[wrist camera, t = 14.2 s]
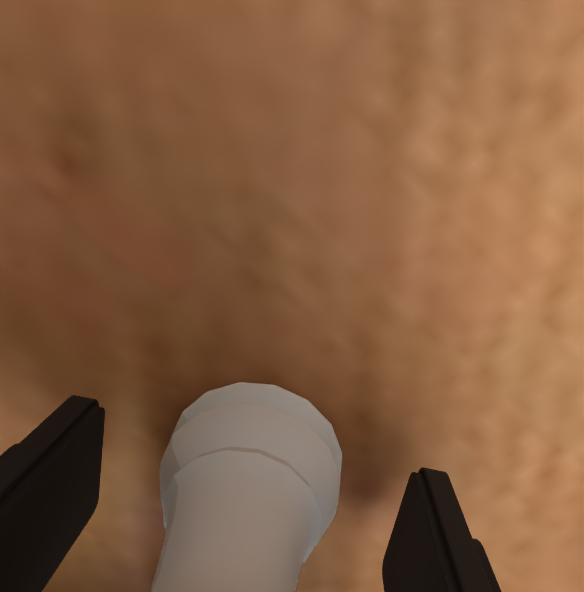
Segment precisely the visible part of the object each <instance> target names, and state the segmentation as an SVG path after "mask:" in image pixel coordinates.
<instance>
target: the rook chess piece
mask: <svg viewBox="0 0 584 592" xmlns="http://www.w3.org/2000/svg"><path fill="white" fill-rule="evenodd" d="M341 465H342V451H341V448H340V446H339V443H338V440H337V438H336V435H335V432H334V430H333V427H332V424H331V423H330V422H329V421H328V420H327V419H326V418H325V417H324V416H323V415H322V414H321V413H320V412H319V411H318V410H317V409H316V408H315V407H314V406H313V405H312V404H311V403H310V402H309V401H308V400H307V399H305V398H302V397H300V396H298V395H296V394H294V393H292V392H289V391H287V390H285V389H283V388H281V387H279V386H277V385H270V384H257V383H245V382H238V383H235V384H231V385H228V386H224V387H221V388H218V389H214V390H211V391H207V392H206V393H205V394H203V395H202V396H201V397H200V398H198V399H197V400H196V401H195V402H194V403H192V404H191V405H190V406H189V407H188V408H186V409H185V410H184V411H183V412H182V414H181V416H180V418H179V420H178V423H177V425H176V427H175V429H174V431H173V434H172V436H171V438H170V442H169V444H168V446H167V449H166V451H165V453H164V455H163V457H162V460H161V464H160V473H159V474H160V499H161V504H162V506H163V525H164V527H165V529H166V533H165V537H164V541H163V545H162V549H161V553H160V557H159V560H158V564H157V568H156V572H155V576H154V580H153V584H152V588H151V592H296V588H297V584H298V580H299V575H300V571H301V567H302V564H303V563H305V562H306V560H307V559H308V557H309V556H310V554H311V552H312V551H313V549H314V548H315V546H316V545H317V544H318V543H319V541H320V539H321V538H322V536H323V535H324V533H325V532H326V530H327V528H328V527H329V525H330V524H331V522H332V521H333V519H334V516H335V514H336V511H337V508H338V500H339V490H340V480H341V477H340V475H341Z"/></svg>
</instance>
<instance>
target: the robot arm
mask: <svg viewBox="0 0 584 592" xmlns="http://www.w3.org/2000/svg"><path fill="white" fill-rule="evenodd" d="M104 419H105V409H104V408H103V407H99V402H98V401H97V400H96V399H91V398H86V397H81V396H76V395H72V396H71V397H69V398H68V399H67V400H66V401H65V402H64V403H63V404H62V405H61V406H60V407H58V408H57V409H56V410H55V411H54V412H53V413H52V414H51V415H50V416H49V417H48V418H46V419H45V420H44V421H43V422H42V423H41V424H40V425H39V426H38V427H37V428H36V429H34V430H33V431H32V432H31V433H30V434H29V435H28V436H27V437H26V438H25V439H24V440H22V441H21V442H20V443H18V444H14V445H13V446H12V447H10V448H9V449H8V450H6V451H5V452H4V453H3V454H2V455H1V456H0V592H42V590H43V589H44V587H45V586H46V584H47V583H48V581H49V580H50V578H51V577H52V575H53V574H54V572H55V571H56V569H57V568H58V566H59V565H60V563H61V562H62V560H63V559H64V557H65V556H66V554H67V553H68V551H69V550H70V548H71V547H72V545H73V544H74V542H75V541H76V539H77V538H78V536H79V535H80V533H81V532H82V530H83V529H84V527H85V525H86V524H87V522H88V521H89V519H90V518H91V516H92V515H93V513H94V511H95V509H96V506H97V503H98V498H99V487H100V473H101V460H102V446H103V433H104ZM382 575H383V584H384V591H385V592H501V590H500V587H499V585H498V582H497V580H496V577H495V575H494V572H493V570H492V567H491V565H490V562H489V560H488V558H487V555H486V553H485V550H484V548H483V546H482V544H481V542H479V541H478V540H477V539H473V538H472V536H471V534H470V531H469V529H468V526H467V523H466V521H465V518H464V515H463V513H462V510H461V508H460V505H459V502H458V500H457V497H456V495H455V492H454V489H453V487H452V484H451V482H450V479H449V476H448V475H447V473H446V472H443V471H438V470H433V469H428V468H423V467H422V468H421V469H420V470H419V472H418V473H416V472H412V473H411V475H410V477H409V480H408V483H407V487H406V490H405V493H404V496H403V499H402V502H401V506H400V509H399V512H398V515H397V518H396V521H395V525H394V528H393V531H392V534H391V537H390V540H389V544H388V547H387V550H386V553H385V556H384V560H383V568H382Z"/></svg>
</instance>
